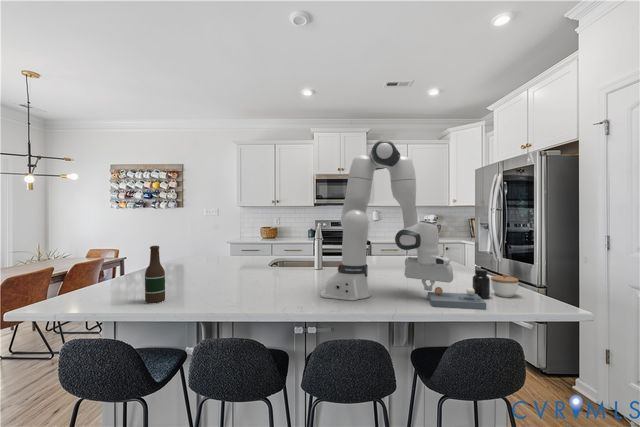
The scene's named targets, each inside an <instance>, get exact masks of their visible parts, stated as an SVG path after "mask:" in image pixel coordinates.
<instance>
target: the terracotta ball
mask: <svg viewBox="0 0 640 427" xmlns="http://www.w3.org/2000/svg"><path fill="white" fill-rule="evenodd" d="M434 292H435V293H436V294H438V295H440V294H442V292H443V289H442V287H440V286H436V287H435V288H434ZM443 293H444V292H443Z"/></svg>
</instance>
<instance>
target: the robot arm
mask: <svg viewBox="0 0 640 427" xmlns="http://www.w3.org/2000/svg"><path fill="white" fill-rule="evenodd" d="M399 151H400V150H398V148H397V147H396V145H395V144H394V143H393V141H390V140H388V139H380V140H378V141H377V142H375V143H374V145H373V146H372V148H371V150H370V152H369V153H368V154H359V155H357V156H355V157H354V158H353V159H352V162H351V165H350V169H349V172H348V177H347V185H346V190H345V191H346V192H345V195H344V197H345V198H344V200H343V207H342V210H341V211H342V212H341V214H340V215H341V217H340V225H341V228H342V245H341V262H340V263H338V264H337V272H336V273H335V274H333V275H332V276H331V277H330V278H329V279H327V281H326V284H325V289H323V290H321V291H320V297H321V298H325V299H335V300H343V301H356V300H362V299H363V300H364V299H367V298H369V297H371V292H370V289H369V283H368V282H369V281H368V275H369V268H368V267H369V266H368V264H367V243H368V235H369V218H368V215H367V209H368V206H369V202H370V199H371V193H372V186H373V180H374V175H375V174H374V173H375V171H377V170H384V169H387V170H388V173H389V177H390V178H389V179H390V180H389V181H390V188H391V193H392V197H393V199H395V201H396V202H397V203H398V205H399V206H400V207H401V211H402V220H403V221H402V222H403V228H402V229H400V230H399V231H398V232H397V233H396V234H395V237H394V242H395V244H396V246H397V247H398V249H401V250H402V251H403V250H404V251H410V250H416V254H417V255H416V256H417V257H413V256H412V257H411V256H409V257H406V258H405V260H404V265H405V266H404V277H405V278H406V279H415V280H421V283H422V285H423V289H424V291H427V292H433V287H434V284H435V283H436V282H439V283H447V284H448V283H451V282H453V281H454V272H453V267H452V265H451V264H450V263H451V258H449V257H447V256H444V255H442V254H439V253H440V252H439V248H438V247H439V246H438V245H439V243H440V242H439V241H440V240H439V236H440V235H439V227H438V226H437V224H436V223H434V222H432V221H425V220H420V221H418V217H417V216H418V215H417V207H416V205H417V204H416V202H417V201H416V200H417V199H416V198H417V197H416V196H417V177H416V171H415V166H414V163H413V160H412V159H411V158H410V157H408V156H406V155H405V156H404V155H403V156H401V153H400V152H399ZM427 281H429V283H430V285H427Z"/></svg>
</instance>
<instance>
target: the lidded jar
mask: <svg viewBox="0 0 640 427" xmlns="http://www.w3.org/2000/svg"><path fill="white" fill-rule="evenodd" d="M519 282H520V281H519V279H518V278H517V277H513V276H508V275H506V274H504V273H503V274H502V275H493V276H491V277H490V283H491V284H490V285H491V288H492V290H493V292H494V293H495V294H496V296H498V297H503V298H512V297H513V296H514V295H515V294H516V293H517V292H518V289H519Z"/></svg>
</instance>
